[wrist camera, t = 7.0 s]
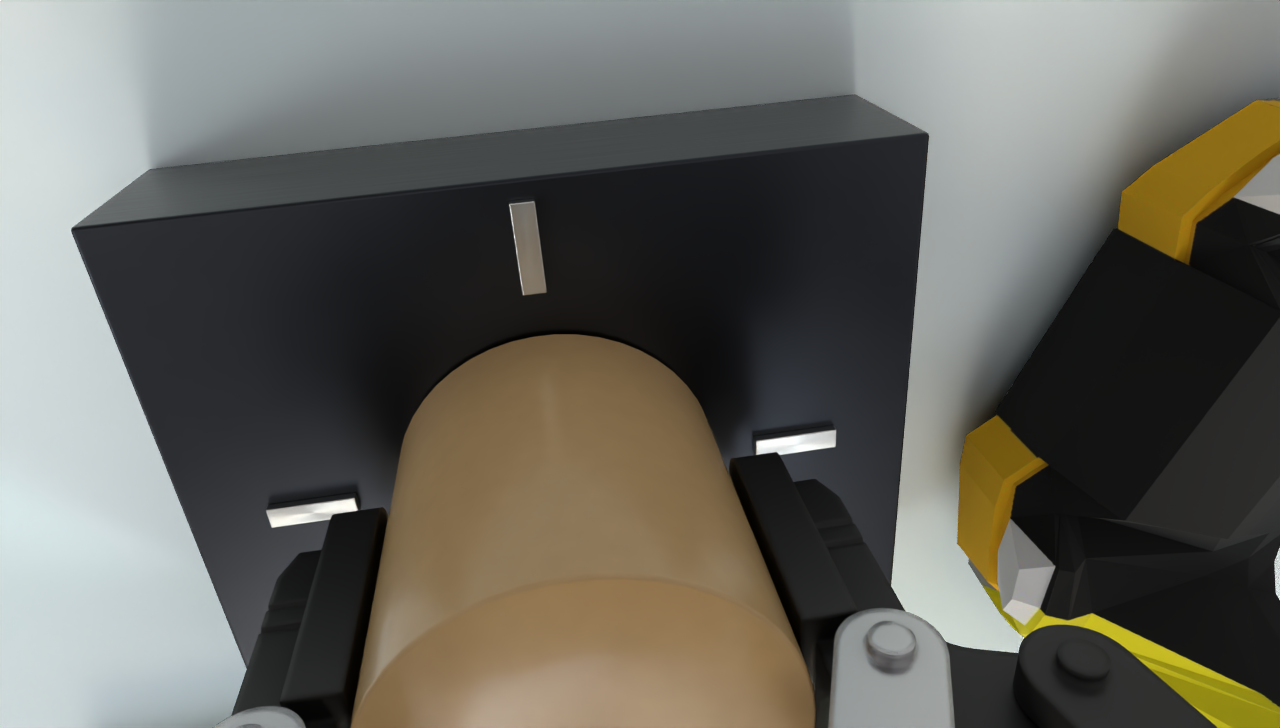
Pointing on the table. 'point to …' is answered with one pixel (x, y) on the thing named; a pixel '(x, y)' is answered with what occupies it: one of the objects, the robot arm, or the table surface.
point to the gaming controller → (1154, 436)
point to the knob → (572, 558)
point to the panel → (512, 303)
